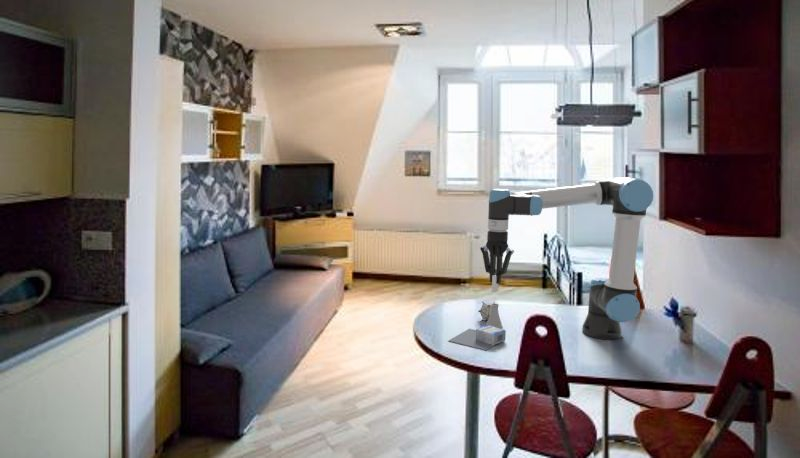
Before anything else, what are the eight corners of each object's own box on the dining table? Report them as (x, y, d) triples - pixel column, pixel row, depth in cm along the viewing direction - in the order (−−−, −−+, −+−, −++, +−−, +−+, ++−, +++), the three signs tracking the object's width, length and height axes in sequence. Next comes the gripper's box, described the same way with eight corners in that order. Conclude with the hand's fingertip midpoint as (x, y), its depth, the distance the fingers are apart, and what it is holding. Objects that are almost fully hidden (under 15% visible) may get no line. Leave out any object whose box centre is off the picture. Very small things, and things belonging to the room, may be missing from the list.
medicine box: (494, 334, 205) (475, 328, 211) (493, 345, 206) (475, 339, 212) (506, 330, 211) (488, 324, 217) (505, 341, 211) (487, 335, 217)
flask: (484, 324, 232) (485, 301, 231) (501, 324, 232) (502, 302, 231) (486, 329, 225) (487, 306, 224) (503, 330, 225) (505, 307, 223)
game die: (489, 327, 240) (502, 308, 241) (491, 326, 231) (504, 307, 233) (472, 315, 241) (485, 297, 243) (473, 314, 233) (486, 295, 234)
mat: (505, 337, 216) (505, 336, 216) (486, 350, 201) (486, 349, 201) (469, 329, 225) (469, 328, 225) (448, 341, 210) (448, 340, 210)
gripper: (477, 229, 204) (475, 290, 208) (510, 233, 197) (507, 296, 200) (486, 227, 210) (483, 286, 214) (518, 230, 203) (514, 292, 207)
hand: (494, 291), depth 207 cm, fingers closed
